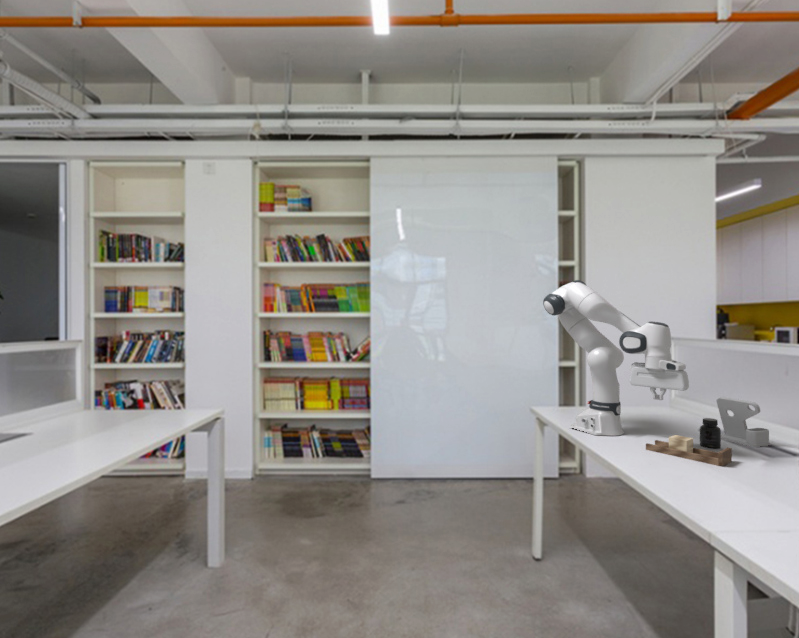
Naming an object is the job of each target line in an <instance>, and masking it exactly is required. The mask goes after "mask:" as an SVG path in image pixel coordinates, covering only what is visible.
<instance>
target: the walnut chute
mask: <svg viewBox="0 0 799 638" xmlns="http://www.w3.org/2000/svg"><path fill="white" fill-rule="evenodd" d="M645 451H650V452H655V453H660V454H664V455H668V456H673V457H677V458H680V459H681V458H682V459H687V460H691V461H694V462H700V463H703V464H704V463H705V464H709V465H713V466H717V467H725V466H727V465H729V464H730V463H732V461H733V460H732V458H733V457H732V452H733V451H732V447H725V448H723V449H722V450H721V449H720V450H719V451H718V452H717V451H712V450H707V449H703V448H697V447H693V453H691V452H686V451H681V450H676V449H672V448H669V441H664V440H658V439H654V444H652V443H645Z"/></svg>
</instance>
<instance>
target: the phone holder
mask: <svg viewBox="0 0 799 638" xmlns="http://www.w3.org/2000/svg"><path fill="white" fill-rule="evenodd" d="M716 404H717V408H718V411H719V412H718V413H719V416H720V419H721V423H722V427H723V431H724V433H723V434H722V433H721V440H722V441H723V440H724V441H727V442H731V443H735V444H740V445H742V444H743V446H746V445H747V447H750V446H751V448H761V447H760V446H764V447H769V446H768V445H770V446H771V443H770V430H769V429H767V428H763V427H754V428H748V425H747V422H746V420H748V419H751V418H752V417H754V416H757V415H758V414H759V413H761V408H760V405H759V404H758V403H756V402H754V401H749V400H744V399H739V398H738V399H737V398H731V397H726V396H720V397H718V398H717V399H716ZM750 406H752V408H754V410H753V409H752V408H751V407H750ZM728 411H731V412H732V413H733V415H730V414H729V413H728Z"/></svg>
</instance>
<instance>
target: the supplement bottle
mask: <svg viewBox="0 0 799 638" xmlns="http://www.w3.org/2000/svg"><path fill="white" fill-rule="evenodd" d="M718 425H719V424H718V419H715V418H710V417H709V418H707V417H705V418H702V425H700V427H699V446H700V447H702V448H704V449H705V448H706V449H709V450H710V449H711V450H721V449H722V444H721V443H722V441H721V440H722V439H721V435H722V432H721V428H720V427H719V426H718Z"/></svg>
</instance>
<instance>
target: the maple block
mask: <svg viewBox="0 0 799 638" xmlns="http://www.w3.org/2000/svg"><path fill="white" fill-rule="evenodd" d="M668 442H669V448H672V449H676V450H681V451H686V452H691V453H693V448H694V438H693V437H689V436H684V435H677V434H675V435H672V436H668Z"/></svg>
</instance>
